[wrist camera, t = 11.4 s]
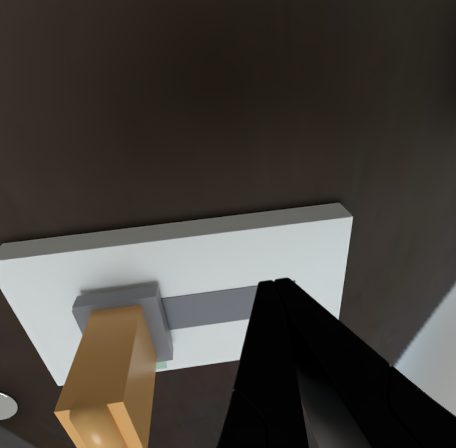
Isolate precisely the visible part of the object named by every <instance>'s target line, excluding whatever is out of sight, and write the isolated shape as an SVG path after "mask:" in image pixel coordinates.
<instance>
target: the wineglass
mask: <svg viewBox="0 0 456 448" xmlns="http://www.w3.org/2000/svg"><path fill="white" fill-rule="evenodd" d="M17 410H18V404H17V402H16V401H15V400H14V399H13V398H12V397H11V396H9V395H7V394H5V393H2V392H0V420H3V419H7V418H9V417H11V416H13V415H14V414H15V413H16V412H17Z"/></svg>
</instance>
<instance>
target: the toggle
mask: <svg viewBox="0 0 456 448" xmlns="http://www.w3.org/2000/svg"><path fill="white" fill-rule="evenodd" d="M72 309H73V311H74V313H75V316H76V318H77V320H78V322H79V324H80V326H81V329H82V331H83V335H82V338H81V341H80V343H79V346H78V349H77V351H76V354H75V357H74V360H73V362H72V365H71V368H70V370H69V373H68V376H67V378H66V381H65V384H64V386H63V389H62V392H61V395H60V397H59V400H58V403H57V405H56V408H55V411H54V413H55V415H56V416H57V418H58V419H59V421H60V422H61V424H62V425H63V427H64V428H65V430H66V431H67V433H68V434H69V436H70V438H71V439H72V441H73V442H74V444H75V445H76V447H77V448H148V439H149V430H150V420H151V411H152V401H153V392H154V382H155V373H156V363H157V362H162V361H169V360H173V344H172V340H171V336H170V332H169V328H168V325H167V321H166V317H165V313H164V309H163V305H162V301H161V297H160V293H159V289H158V285H157V286H149V287H142V288H134V289H126V290H119V291H111V292H104V293H96V294H88V295H81V296H77V297H76V300H75V302H74V304H73V306H72Z"/></svg>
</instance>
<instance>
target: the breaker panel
mask: <svg viewBox="0 0 456 448" xmlns="http://www.w3.org/2000/svg"><path fill="white" fill-rule="evenodd" d="M352 220H353V216H352V215H351V214H350V213H349V212H348V211H347V210H346V209H345V208H344V207H343V206H342V205H341V204H340V203H332V204H324V205H315V206H307V207H299V208H291V209H282V210H274V211H266V212H258V213H250V214H241V215H233V216H225V217H217V218H208V219H200V220H192V221H184V222H175V223H167V224H159V225H151V226H142V227H134V228H126V229H118V230H109V231H101V232H93V233H85V234H76V235H68V236H60V237H52V238H44V239H35V240H27V241H19V242H11V243H3V244H2V245H1V246H0V289H1V290H2V292H3V294H4V295H5V297H6V299H7V300H8V302H9V304H10V305H11V307H12V309H13V311H14V312H15V314H16V316H17V317H18V319H19V321H20V322H21V324H22V326H23V327H24V329H25V331H26V332H27V334H28V336H29V338H30V339H31V341H32V343H33V344H34V346H35V348H36V349H37V351H38V353H39V354H40V356H41V358H42V359H43V361H44V363H45V365H46V366H47V368H48V370H49V371H50V373H51V375H52V376H53V378H54V380H55V381H56V383H57V385H58V386H62V385H64V384H65V381H66V378H67V376H68V373H69V370H70V368H71V365H72V362H73V360H74V357H75V354H76V351H77V349H78V346H79V343H80V341H81V338H82V335H83V331H82V329H81V326H80V324H79V322H78V320H77V318H76V316H75V313H74V311H73V309H72V306H73V304H74V302H75V300H76V297H77V296H81V295H88V294H96V293H104V292H111V291H119V290H126V289H134V288H142V287H149V286H157V285H158V289H159V293H160V297H161V301H162V305H163V309H164V313H165V317H166V321H167V325H168V328H169V332H170V336H171V340H172V344H173V360H169V361H162V362H157V363H156V372H158V371H165V370H172V369H179V368H186V367H193V366H199V365H206V364H213V363H220V362H227V361H234V360H240V355H241V351H242V347H243V343H244V339H245V335H246V331H247V326H248V322H249V318H250V314H251V310H252V306H253V302H254V297H255V293H256V289H257V285H258V283H259V282H260V281H266V280H273V281H274V280H275V279H279V278H286V277H287V278H290V279H291V280H293V281H294V282H295V283H296V284H297V285H298V286H300V287H301V288H302V289H303V290H304V291H305V292H307V293H308V294H309V295H310V296H311V297H312V298H314V299H315V300H316V301H317V302H318V303H319V304H321V305H322V306H323V307H324V308H325V309H326V310H328V311H329V312H330V313H331V314H332V315H334V316H335V317H336V318H337V319H338V320H339V312H340V305H341V298H342V291H343V284H344V277H345V270H346V263H347V256H348V249H349V241H350V234H351V227H352Z"/></svg>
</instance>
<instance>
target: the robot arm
mask: <svg viewBox="0 0 456 448" xmlns="http://www.w3.org/2000/svg"><path fill="white" fill-rule="evenodd" d="M300 397H301V398H300ZM301 399H302V402H303V405H304V408H305V410H306V413H307V416H308V419H309V422H310V424H311V427H312V430H313V433H314V435H315V438H316V441H317V444H318V446H319V448H456V416H455V415H453V414H452V413H451V412H449V411H448V410H447V409H445V408H444V407H443V406H441V405H440V404H438V403H437V402H436V401H435V400H433V399H432V398H431V397H429V396H428V395H427V394H426V393H425V392H423V391H422V390H421V389H420V388H418V387H417V386H416V385H415V384H413V383H412V382H411V381H410V380H408V379H407V378H406V377H405V376H404V375H403V374H402V373H400V372H399V371H398V370H397V369H396V368H395V367H393V366H391V367H390V363H389V362H387V361H386V360H385V359H384V358H383V357H382V356H380V355H379V354H378V353H377V352H376V351H374V350H373V349H372V348H371V347H370V346H369V345H367V344H366V343H365V342H364V341H363V340H362V339H360V338H359V337H358V336H357V335H356V334H355V333H353V332H352V331H351V330H350V329H349V328H348V327H346V326H345V325H344V324H343V323H342V322H341V321H339V320H338V319H337V318H336V317H335V316H334V315H332V314H331V313H330V312H329V311H328V310H326V309H325V308H324V307H323V306H322V305H321V304H319V303H318V302H317V301H316V300H315V299H314V298H312V297H311V296H310V295H309V294H308V293H307V292H305V291H304V290H303V289H302V288H301V287H300V286H298V285H297V284H296V283H295V282H294V281H293V280H291V279H290V278H287V277H286V278H279V279H275V280H274V281H273V280H266V281H260V282H259V283H258V285H257V289H256V293H255V297H254V302H253V306H252V310H251V314H250V318H249V322H248V326H247V331H246V335H245V339H244V343H243V347H242V351H241V355H240V360H239V364H238V368H237V372H236V376H235V380H234V384H233V391H232V392H231V396H230V400H229V404H228V408H227V412H226V415H225V419H224V423H223V426H222V430H221V433H220V436H219V439H218V442H217V445H216V448H309V445H308V439H307V433H306V427H305V422H304V416H303V410H302V404H301Z"/></svg>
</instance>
